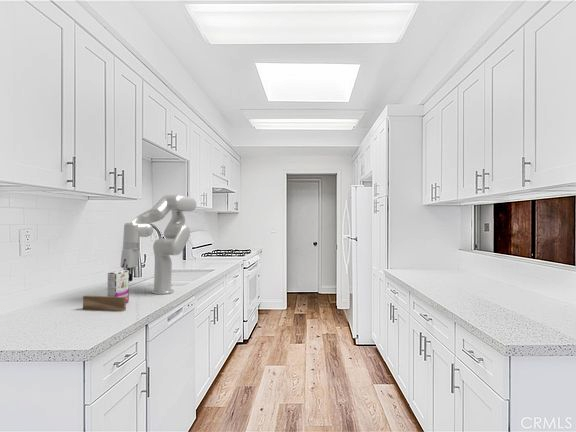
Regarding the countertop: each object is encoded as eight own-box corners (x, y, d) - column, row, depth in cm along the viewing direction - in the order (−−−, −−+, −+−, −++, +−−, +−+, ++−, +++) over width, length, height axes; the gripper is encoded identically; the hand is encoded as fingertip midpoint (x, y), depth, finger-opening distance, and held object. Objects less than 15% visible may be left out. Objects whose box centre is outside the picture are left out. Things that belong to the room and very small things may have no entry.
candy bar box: (120, 301, 209) (121, 270, 209) (128, 302, 208) (129, 270, 208) (106, 306, 198) (107, 272, 198) (115, 306, 197) (116, 273, 198)
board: (85, 308, 193) (85, 295, 193) (125, 310, 191) (126, 297, 191) (82, 309, 191) (83, 296, 191) (123, 310, 189) (123, 297, 189)
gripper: (130, 245, 223) (128, 279, 222) (116, 246, 208) (114, 282, 207) (143, 246, 222) (142, 279, 222) (130, 246, 208) (128, 283, 207)
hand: (128, 280), depth 215 cm, fingers closed
